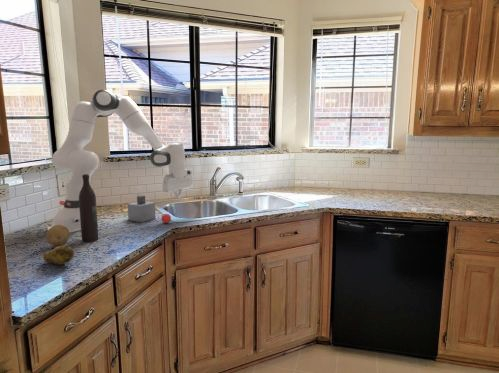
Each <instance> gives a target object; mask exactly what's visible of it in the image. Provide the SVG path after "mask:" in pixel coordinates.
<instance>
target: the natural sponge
mask: <svg viewBox="0 0 499 373" xmlns="http://www.w3.org/2000/svg"><path fill="white" fill-rule="evenodd" d="M50 227H51V226H50ZM70 235H71V234H70V233H69V230H68V229H67V228H66V227H65V226H63V225H55V226H53V227H51V228H50V229H49V230H48V231H46V235H45V240H46V242H47V243H48V244H49V245H51V246H54V247H55V248H56V247H58V246H66V243H67V242H68V240H69V238H70Z"/></svg>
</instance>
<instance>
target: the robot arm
mask: <svg viewBox="0 0 499 373" xmlns="http://www.w3.org/2000/svg"><path fill="white" fill-rule="evenodd" d="M113 114H116V115H117V116H118V117H119V118H120V119H121V121H122V122H123V124H124V125H125V127H126V128H128V130H129V132H131V133H133V134H135V135H139V136H141V137H143V138H144V139H145V140H146V141H147V143H148V144H149V145H150V146H151V148H152V149H153V151H152V152H151V153H150V156H149V159H150V162H151V164H152V165H153V166H154V167H158V168H161V167H166V166H167V167H168V174H165V175H164V177H163V181H162V192H164V193H171V192H173V194H174V197H175V198H176V199H178V198H181V197H182V193H183V189H186V188H191V187H192V186H193V178H192V170H191V169H187V168H186V164H185V161H186V152H185V148H184V147H185V146H184V145H183V144H181V143H180V142H174V141H173V142H168V144H165V143H164V142H163V141H162V139H161V138H160V137H159V136H158V134H157V133H156V131H154V129H153V127H152V126H151V124H150V123H149V121H148V120H147V118H146V116H145V114H144V113H143V111H142V110H141V108H139V106H138V105H137V104H136V103H135V101H133V99H132V98H131V97H129V96H127V95H126V96H125V95H124V96H120V97H119V96H118V95H116V94H114V93H113V92H111V91H110V90H108V89H107V90H106V89H102V88H101V89H98V90H97V91H96V92H95V93H93V95H92V100H91V101H84V100H83V101H78V102H77V103H76V104H75V106H74V108H73V111H72V115H71V117H70V118H71V119H70V123H69V128H68V132H67V135H66V138H65V140H64V142H63V143H62V145H61V146H60V148H59V149H57V150H56V151H55V152H54V153H53V154H52V157H51V160H52V161H51V162H52V165H53V167H55V168H56V169H58V170H62V171H65V172H66V171H67V172H71V177H70V178H69V180H68V181H66V183H65V187H64V188H65V196H66V198H65V201H63V200H60V201H59V202H58V204H59V205H60V206H63V208H61V209H60V210H59V211H58V212H57V213H56V214H55V215H54V216H53V218H52V221H51V226H48V227H47V229H46V230H47V231H48V230H49V229H50V228H51V227H53V226H55V225H63V226H65V227H66V228H67V229H68V230H69V233H74V232H81V223H80V209H79V193H80V191H81V189H82V186H83V178H82V176H83V175H84V174H89V183H90V184H91V178H92V175H93V174H94V172H95V171H96V170H97V169H98V168H99V165H100V158H99V156H98V155H97V153H95V152H94V151H91V150H87V149H84V148H85V146H87V145H88V144H90V142H92V139H93V134H94V130H95V123H96V119H97V118H107V117H110V116H112V115H113ZM47 231H46V232H47Z"/></svg>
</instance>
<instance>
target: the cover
mask: <svg viewBox="0 0 499 373" xmlns="http://www.w3.org/2000/svg"><path fill="white" fill-rule="evenodd" d="M127 216H128V217H127V220H128V221H134V222H138V223H145V222H147V221H150V220H154V219H156V202H153V201H146V196H145V195H136V201H135V202H129V203H127Z"/></svg>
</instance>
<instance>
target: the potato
mask: <svg viewBox="0 0 499 373" xmlns="http://www.w3.org/2000/svg"><path fill="white" fill-rule="evenodd" d="M74 256H75V252H74V249H73V247H71V246H69V245H64V246H58V247H56V246H55V248H53V249H51V250H47V251H46V252H44V254H43V256H42V258H43V260H44V261H45V262H46V263H48V264H55V265H64V264H67V263H70V262H71V261H72V260H73V258H74Z"/></svg>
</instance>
